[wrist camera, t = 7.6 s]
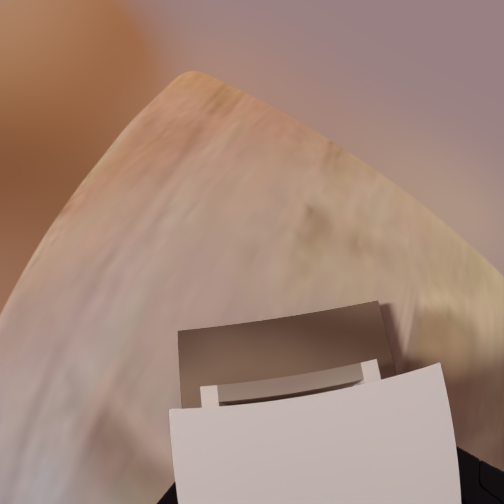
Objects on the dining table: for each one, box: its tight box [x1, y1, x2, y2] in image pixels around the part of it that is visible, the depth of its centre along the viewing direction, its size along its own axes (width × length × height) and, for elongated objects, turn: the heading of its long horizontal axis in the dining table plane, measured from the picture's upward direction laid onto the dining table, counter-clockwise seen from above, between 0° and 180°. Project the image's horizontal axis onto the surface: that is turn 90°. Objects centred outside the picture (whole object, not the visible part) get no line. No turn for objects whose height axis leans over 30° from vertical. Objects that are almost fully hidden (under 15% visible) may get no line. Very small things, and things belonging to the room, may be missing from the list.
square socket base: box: [178, 301, 397, 409], centre depth 13 cm, size 16×12×4 cm
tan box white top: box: [169, 363, 461, 504], centre depth 8 cm, size 5×5×11 cm
